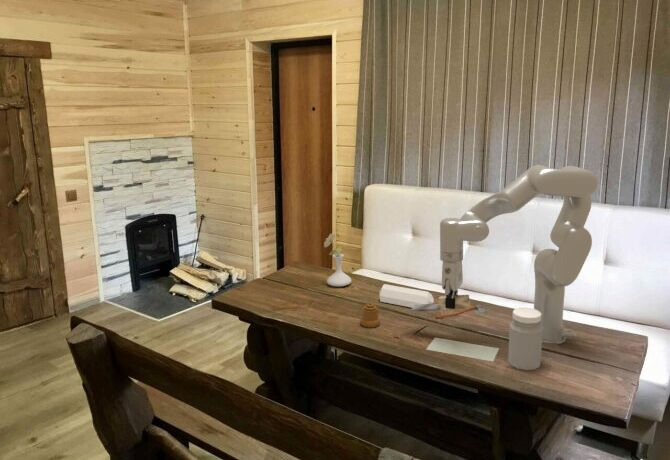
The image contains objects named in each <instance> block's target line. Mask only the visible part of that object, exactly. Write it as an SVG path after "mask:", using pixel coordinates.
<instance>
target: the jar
mask: <svg viewBox="0 0 670 460" xmlns="http://www.w3.org/2000/svg"><path fill="white" fill-rule="evenodd" d="M511 320H512V321H511V322H510V325H509V332H508V333H509V334H508V335H509V336H508V337H509V338H508V353H507V354H508V355H507V363H508V364H510V366H511V367H513V368H515V369H517V370H524V371H533V370H534V371H535V370H537V369H538V368H540V366H541V364H542V363H541V362H542V351H543V350H542V346H543V342H542V334H543V327H542V326H541V321H540V320H541V313H540V312H539V311H538V310H535V309H534V307H533V308H531V307H525V306H524V307H518V308H515V309H513V311H512V319H511Z"/></svg>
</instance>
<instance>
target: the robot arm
mask: <svg viewBox="0 0 670 460" xmlns="http://www.w3.org/2000/svg"><path fill="white" fill-rule="evenodd" d="M598 186H599V179H598V176H597V175H596V174H595V173H594V172H592V170H589V169H585V168H583V167H582V168H581V167H579V166H575V165H567V166H564V167H562V168H561V169H560V168H553V167H549V166H546V165H543V164H536V165H533V166H531V167H529V168H528V169H527V170H525V171H524V172H523V173H521V174H520V175H519V176H518V177H517V178H515V179H514V180H513V181H511V182H510V183H509V184H508V185H506V186H505V187H503V188H502V189H501V190H500V191H498V192H496V193H493V194H491V195H490V196H488V197H486V198H484V199H482V200H481V201H479V202H478V203H476V204H475V205H473V206H472V207H470V209H468V210H467V211H466V212H465V213H464V214H463V215H462V216H461V217H460V218H459V217H458V218H457V217H446V218H443V219H442V220H441V221H440V222H439V233H440V234H439V237H440V238H439V253H440V254H439V259H440V261H441V262H442V266H441V268H442V269H441V288H442V290H443V291H444V296H445V307H446V308H448V309H452V310H456V309H455V298H454V295H459V293H458V292H459V289H460V288H461V286H462V285H463V282H464V281H463V280H464V276H463V275H464V274H463V260H464V242H473V243H477V242H482V241H484V240H486V238H487V237H489V233H490V227H489V225H488V224H487V223H488V222H489V221H490V220H492V219H494V218H496V217H499V216H501V215H505V214H512V213H515V212H518V211H520V210H521V209H522V208H524V206H526V205H528V203H530V202H531V201H532V200H534V199H535V198H536V197H537V196H539V195H544V196H549V197H560V198H561V197H563V203H562V207H561V209H560V212H559V213H558V216H557V218H556V220H555V222H554V225H553V227H552V228H551V231H550V234H549V235H550V236H549V238H550V241H551V242H552V243H553V244H554V245H555V246H556V247H557V248H558V250H557V249H554V248H544V249H542V250H541V251H539V252H538V253H537V254H536V256H535V258H534V262H533V269H534V282H535V283H534V300H533V309H535V310H538V311H539V312H540V313H541V320H540V321H541V326H542V327H543V334H542V343H546V344H547V343H548V344H556V345H562V344H563V343H565V342H566V340H567V338H571V339H576V336H577V333H576V332H573V329H566V328H564V326H565V325H564V324H563V320H564V304H565V294H566V288H565V287H568V286H570V285H573V283H574V282H575V281H576V280H577V278H578V277H579V275H580V273H581V271H582V269H583V267H584V265H585V262H586V260H587V258H588V256H589V254H590V252H591V249H592V246H593V245H592V243H593V238H592V235H591V233H590V231H589V230H588V229H587V228H585V224H586V222H587V220H588V217H589V214H590V212H591V208H592V194H594V193H595V192H596V191H597V189H598Z"/></svg>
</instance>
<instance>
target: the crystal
mask: <svg viewBox="0 0 670 460" xmlns="http://www.w3.org/2000/svg"><path fill="white" fill-rule="evenodd" d="M378 294H379V301H380V302H382V303H387V304H391V305H396V306H402V307H408V308H411V309H412V308H413V307H414V306H415V305H419V304H434V300H435V299H434V296H433V295H432V293H430V292H429V291H427V290H426V291H425V290H420V289H414V288H409V287H403V286H396V285H391V284H387V283H384V284H383V285H382V287H381V289H380V290H379V293H378Z"/></svg>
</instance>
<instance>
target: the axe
mask: <svg viewBox="0 0 670 460" xmlns="http://www.w3.org/2000/svg"><path fill="white" fill-rule="evenodd" d="M473 310H474V311H473ZM470 311H472V313H474V314H487V313H489V312H490V310H488V309H485V308H482V305H481V304H478V305H473V306H470V308H469V309H461V310H459V311H457V312H454V313H448V314H439V315H436V316H435V320H440V319H444V318H447V317H448V318H449V317H454V316H458V315H461V314H463V313H467V312H470Z"/></svg>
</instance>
